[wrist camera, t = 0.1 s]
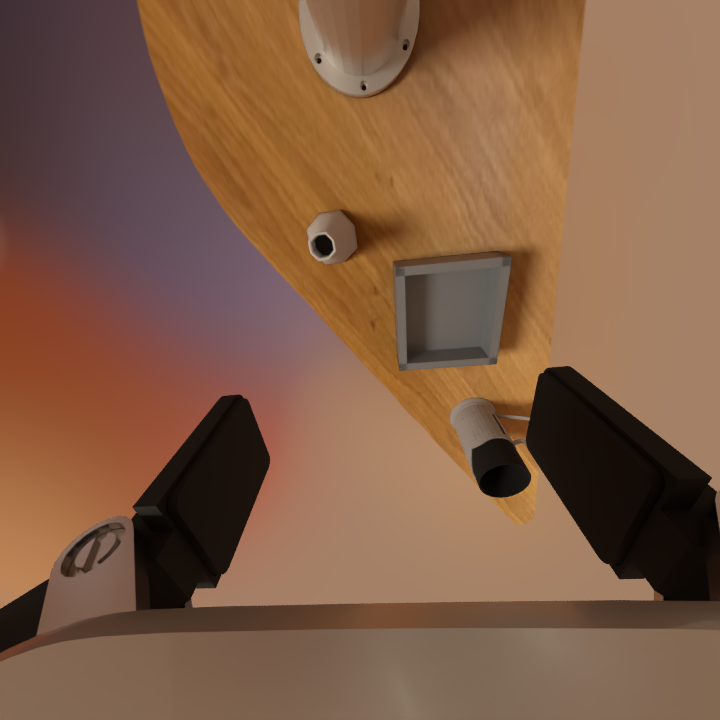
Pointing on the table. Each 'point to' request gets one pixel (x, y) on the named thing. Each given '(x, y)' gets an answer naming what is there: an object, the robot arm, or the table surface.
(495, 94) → the table surface
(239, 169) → the table surface
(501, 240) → the table surface
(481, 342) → the charcoal box
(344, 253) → the flask
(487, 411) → the grey mug
